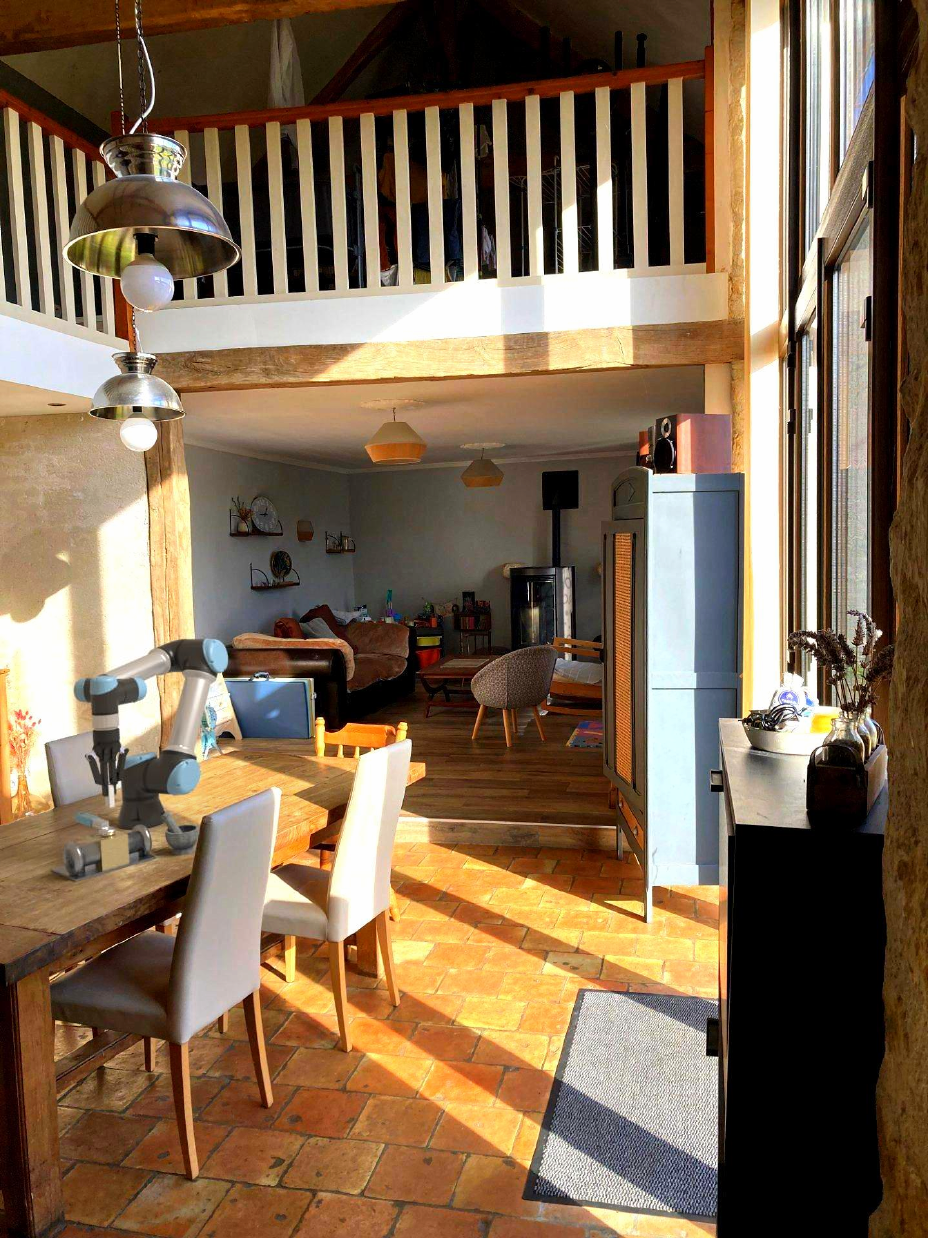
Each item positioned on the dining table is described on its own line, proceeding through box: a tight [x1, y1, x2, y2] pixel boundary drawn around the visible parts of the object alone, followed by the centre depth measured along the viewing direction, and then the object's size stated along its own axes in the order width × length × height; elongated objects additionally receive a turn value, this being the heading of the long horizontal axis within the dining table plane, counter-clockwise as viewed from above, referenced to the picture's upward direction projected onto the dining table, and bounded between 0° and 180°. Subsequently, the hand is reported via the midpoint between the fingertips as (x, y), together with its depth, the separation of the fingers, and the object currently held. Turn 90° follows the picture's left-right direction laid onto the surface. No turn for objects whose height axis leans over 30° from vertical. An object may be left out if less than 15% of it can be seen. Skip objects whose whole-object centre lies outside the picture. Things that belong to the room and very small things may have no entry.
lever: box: [75, 811, 116, 837], centre depth 268 cm, size 4×20×4 cm, turn 48°
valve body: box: [50, 824, 157, 882], centre depth 266 cm, size 24×15×10 cm, turn 138°
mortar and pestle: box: [161, 811, 200, 856], centre depth 275 cm, size 11×9×12 cm
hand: (110, 806), depth 275 cm, fingers closed
